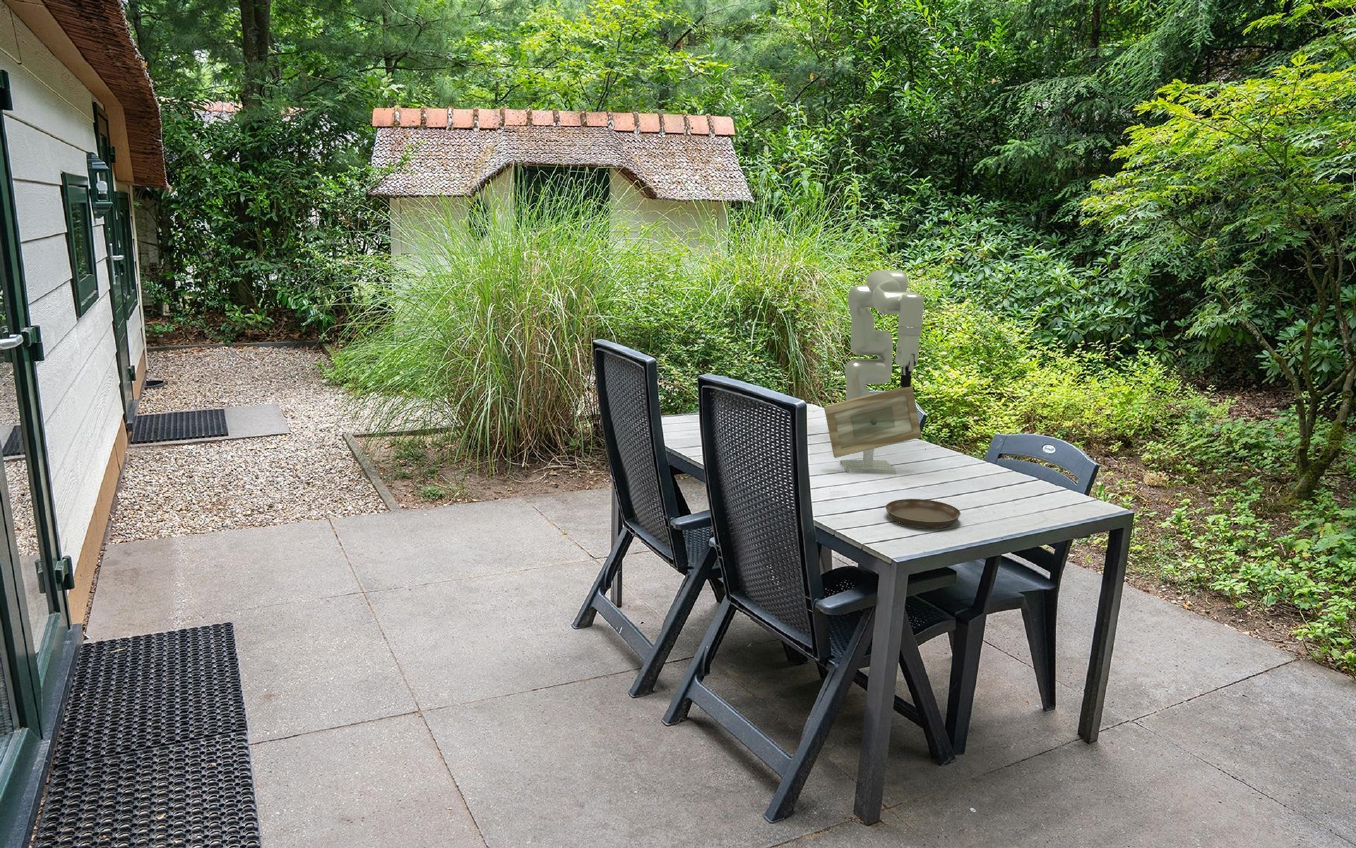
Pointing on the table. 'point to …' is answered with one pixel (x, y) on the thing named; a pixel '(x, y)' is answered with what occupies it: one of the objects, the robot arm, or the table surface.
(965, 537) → the table surface
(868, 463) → the frame stand
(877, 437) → the picture frame
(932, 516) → the plant saucer
